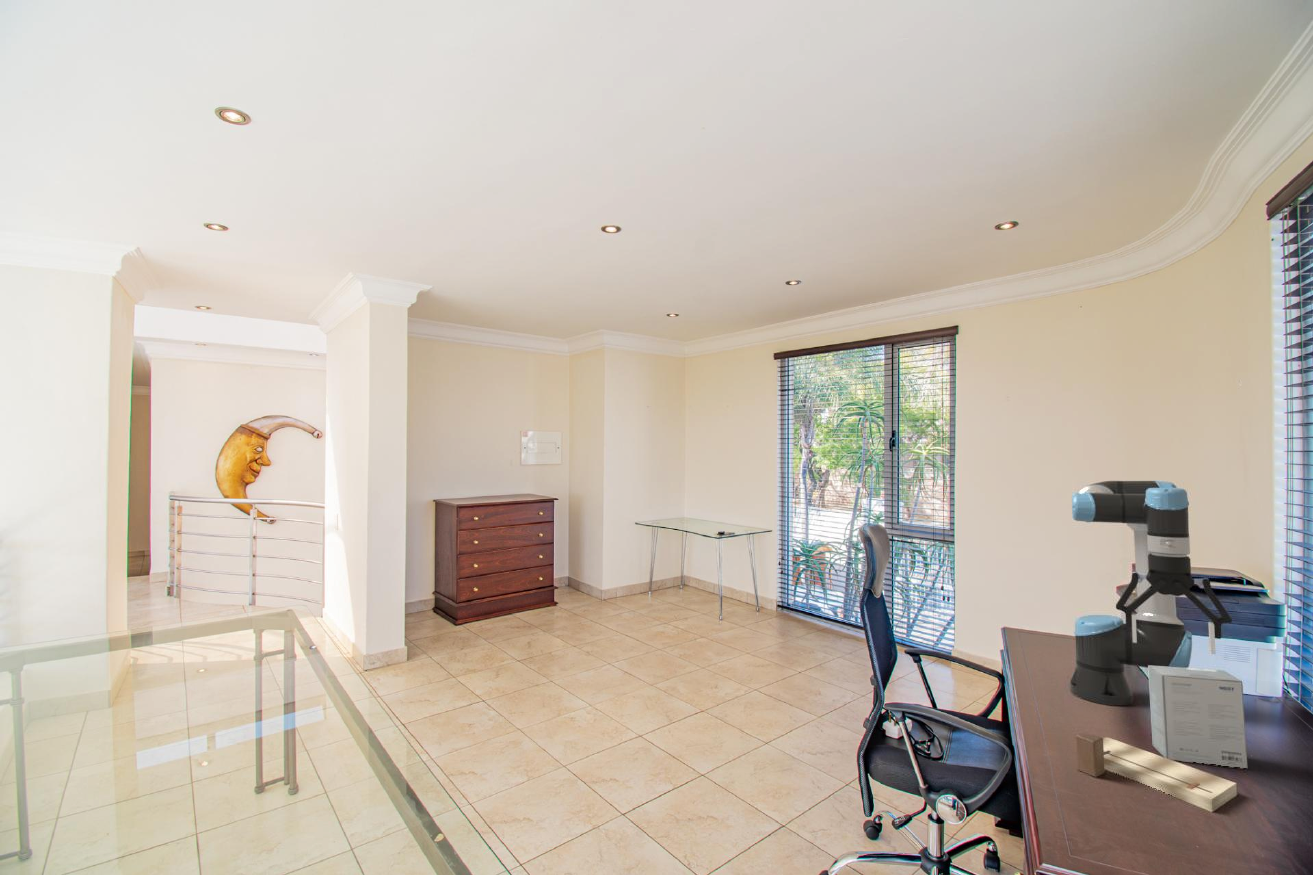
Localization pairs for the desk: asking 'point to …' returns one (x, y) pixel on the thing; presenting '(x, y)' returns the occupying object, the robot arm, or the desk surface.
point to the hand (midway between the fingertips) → (1172, 647)
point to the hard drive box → (1198, 715)
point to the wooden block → (1090, 754)
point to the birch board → (1168, 775)
